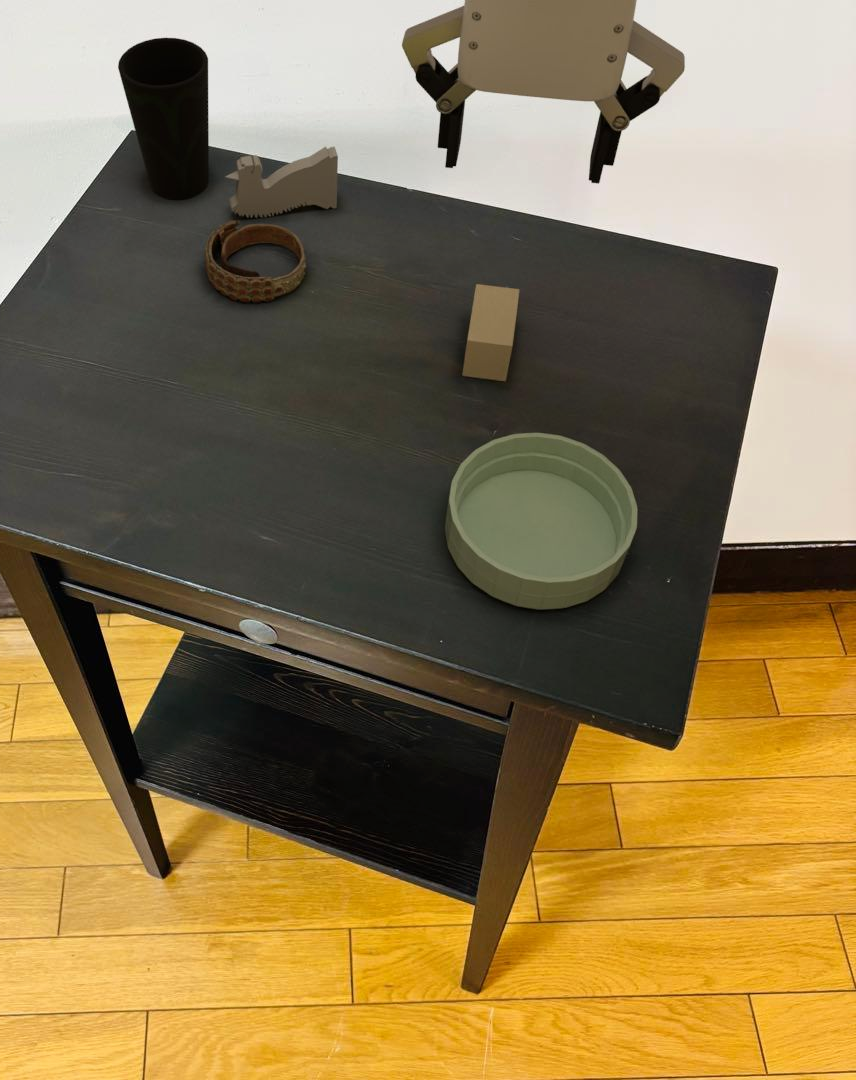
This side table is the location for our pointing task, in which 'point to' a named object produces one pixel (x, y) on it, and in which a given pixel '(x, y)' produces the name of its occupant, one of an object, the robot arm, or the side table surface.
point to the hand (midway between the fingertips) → (523, 163)
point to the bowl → (540, 520)
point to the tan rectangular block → (491, 332)
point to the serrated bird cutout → (285, 185)
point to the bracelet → (246, 281)
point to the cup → (169, 113)
